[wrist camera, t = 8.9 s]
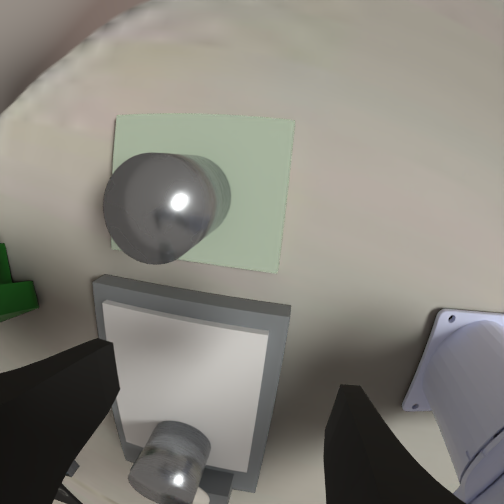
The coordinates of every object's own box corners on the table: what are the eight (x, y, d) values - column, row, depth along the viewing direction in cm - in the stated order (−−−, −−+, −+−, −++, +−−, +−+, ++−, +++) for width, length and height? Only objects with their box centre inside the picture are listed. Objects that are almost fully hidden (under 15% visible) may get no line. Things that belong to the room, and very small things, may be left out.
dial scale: (290, 305, 18) (287, 345, 14) (256, 485, 23) (248, 522, 19) (104, 274, 19) (65, 299, 15) (133, 455, 25) (115, 486, 21)
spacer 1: (236, 159, 16) (209, 156, 11) (226, 242, 17) (198, 273, 12) (156, 152, 16) (106, 150, 11) (150, 230, 17) (102, 254, 13)
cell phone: (87, 506, 33) (84, 509, 32) (31, 486, 37) (29, 489, 36) (53, 472, 31) (50, 476, 31) (4, 455, 35) (1, 458, 35)
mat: (294, 121, 15) (294, 120, 15) (277, 270, 18) (277, 273, 17) (122, 116, 17) (116, 115, 16) (116, 246, 19) (111, 249, 18)
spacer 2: (211, 429, 19) (191, 484, 14) (210, 463, 20) (194, 513, 16) (151, 413, 20) (122, 463, 15) (157, 449, 21) (134, 495, 16)
